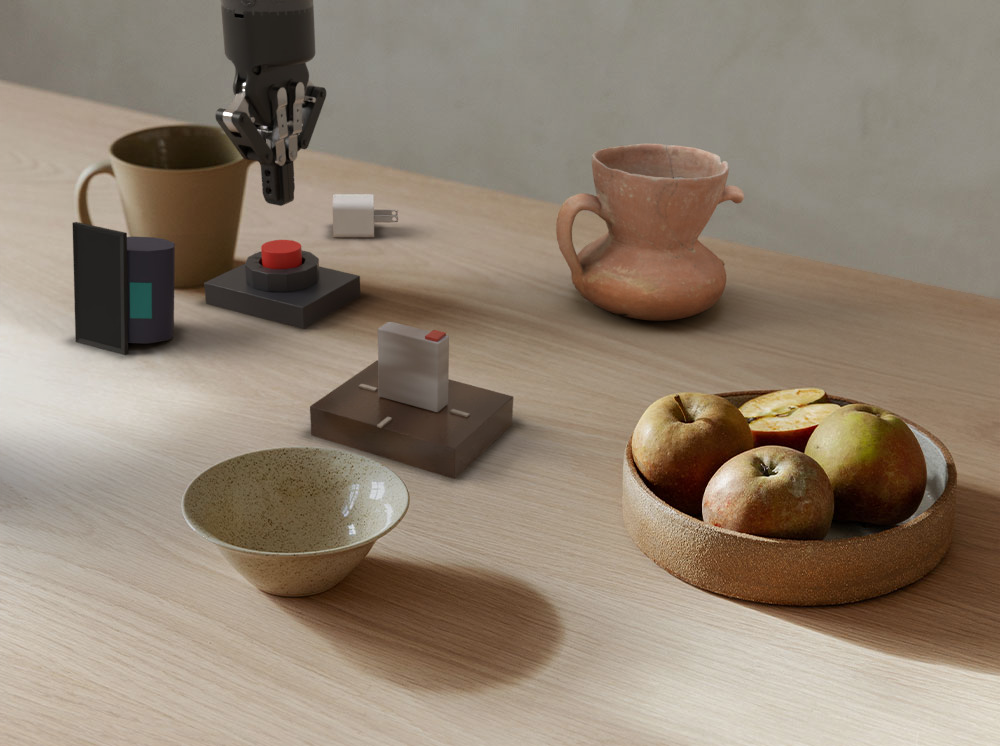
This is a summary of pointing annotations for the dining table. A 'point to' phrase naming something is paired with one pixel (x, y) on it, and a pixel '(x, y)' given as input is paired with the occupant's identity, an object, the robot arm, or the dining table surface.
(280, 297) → the switch block
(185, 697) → the dining table surface
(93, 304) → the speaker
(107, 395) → the dining table surface
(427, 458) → the brown base plate
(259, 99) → the robot arm
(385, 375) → the block
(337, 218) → the usb wall charger
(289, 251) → the power button
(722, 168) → the ceramic jug
